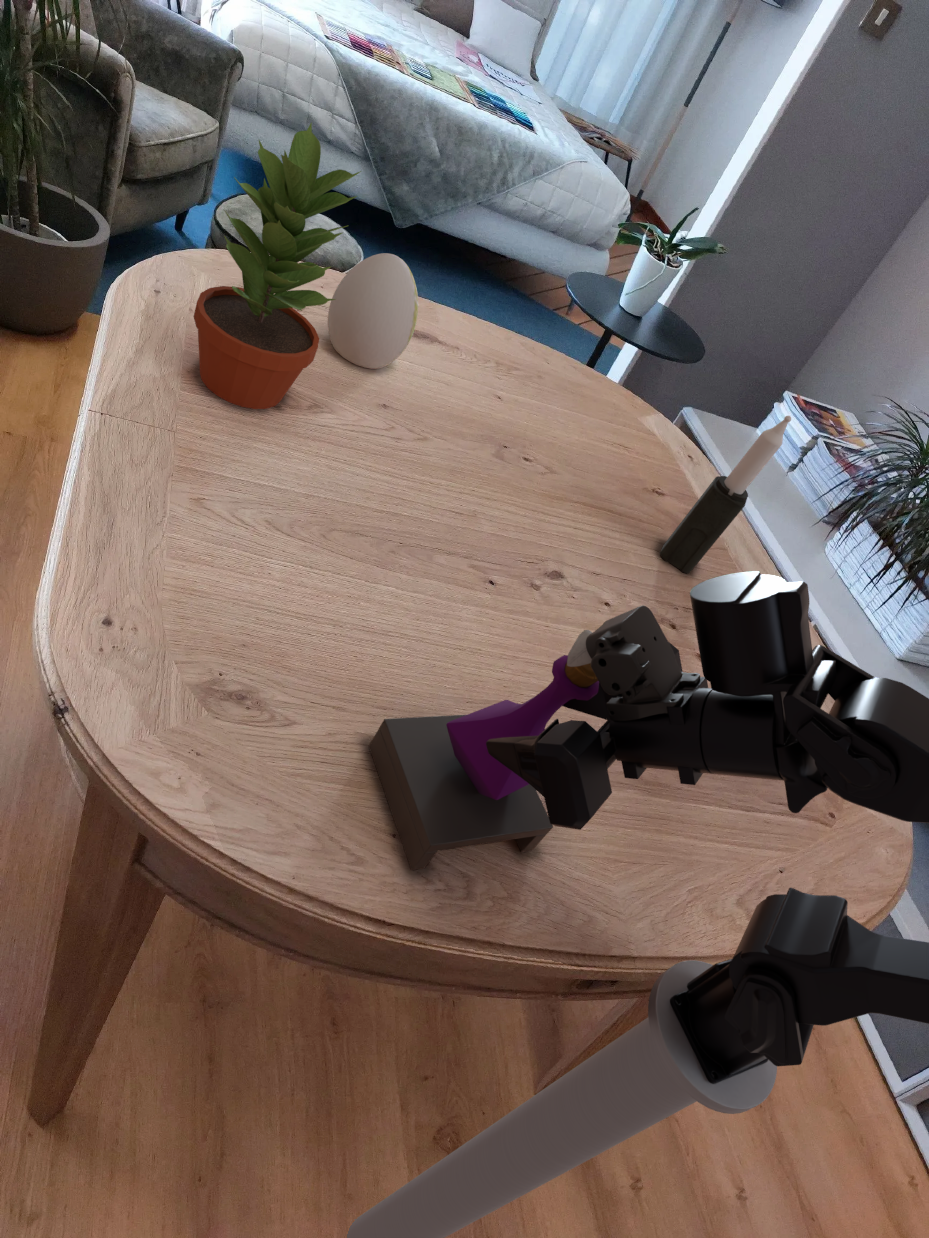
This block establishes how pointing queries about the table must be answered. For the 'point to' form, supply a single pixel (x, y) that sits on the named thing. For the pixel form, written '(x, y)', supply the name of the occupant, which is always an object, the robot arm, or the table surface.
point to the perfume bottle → (519, 721)
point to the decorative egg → (374, 311)
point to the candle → (720, 504)
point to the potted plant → (270, 283)
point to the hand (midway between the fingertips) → (519, 718)
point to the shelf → (446, 794)
